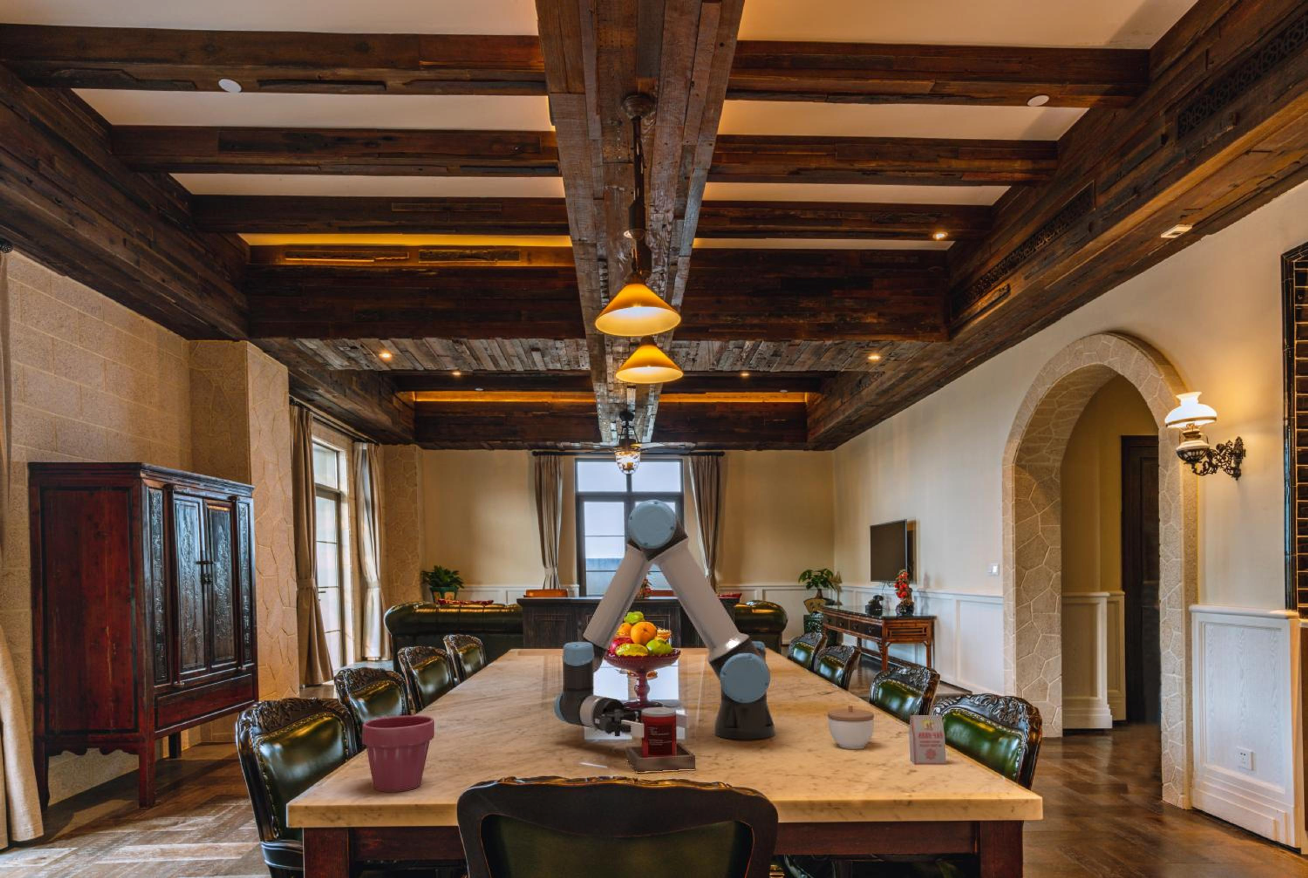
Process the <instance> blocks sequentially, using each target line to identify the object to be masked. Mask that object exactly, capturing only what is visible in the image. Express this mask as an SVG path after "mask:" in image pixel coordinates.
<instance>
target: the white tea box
mask: <svg viewBox="0 0 1308 878" xmlns="http://www.w3.org/2000/svg"><path fill="white" fill-rule="evenodd" d="M908 735H909V739H908V741H909V757H910V758H909V761H910V762H911V764H913V765H915V766H917V765H919V766H920V765H921V766H923V765H926V766H929V765H930V766H931V765H933V766H936V765H937V766H944V765H947V758H946V757H947V756H946V752H947V751H946V735H945V729H944V724H943V716H942V715H939V714H938V715H936V714H935V715H934V714H929V715H927V714H926V715H925V714H924V715H923V714H922V715H919V714H917V715H916V714H913V715H909V731H908Z"/></svg>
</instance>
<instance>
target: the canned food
mask: <svg viewBox="0 0 1308 878" xmlns="http://www.w3.org/2000/svg"><path fill="white" fill-rule="evenodd" d="M645 708H646V707H645ZM676 713H677V710H676V709H674V708H672V707H663V706H661V707H647V708H646V709H643V710H642V713H641V724H644V737H642V738H641V737H640V739H641V746H642V758H652V757H668V756H677V743H678V741H677V739H678V738H677V736H678V735H677V726H676Z"/></svg>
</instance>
